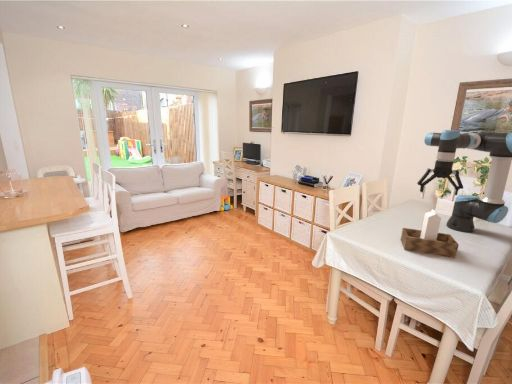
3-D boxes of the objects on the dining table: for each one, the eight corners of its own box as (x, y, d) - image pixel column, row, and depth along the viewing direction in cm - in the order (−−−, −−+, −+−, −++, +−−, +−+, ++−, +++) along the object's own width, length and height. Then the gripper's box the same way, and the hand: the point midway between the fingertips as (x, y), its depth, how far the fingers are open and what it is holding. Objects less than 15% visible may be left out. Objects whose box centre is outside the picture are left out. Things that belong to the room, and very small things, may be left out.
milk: (422, 248, 143) (429, 211, 137) (418, 243, 149) (425, 208, 143) (434, 249, 141) (442, 212, 136) (430, 245, 147) (438, 209, 141)
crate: (447, 247, 147) (450, 234, 145) (455, 258, 135) (458, 244, 133) (400, 239, 156) (402, 227, 154) (404, 249, 143) (406, 236, 141)
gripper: (471, 160, 131) (462, 200, 137) (415, 158, 140) (409, 195, 145) (477, 162, 124) (467, 204, 130) (418, 159, 133) (411, 198, 139)
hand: (436, 199), depth 138 cm, fingers open, 13 cm apart
